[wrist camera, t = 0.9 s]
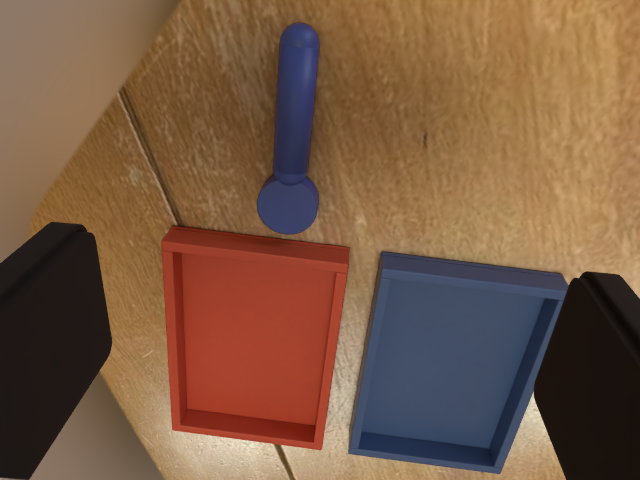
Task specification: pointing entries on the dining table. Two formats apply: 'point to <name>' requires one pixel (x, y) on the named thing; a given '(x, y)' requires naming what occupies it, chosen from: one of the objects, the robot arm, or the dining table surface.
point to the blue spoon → (292, 136)
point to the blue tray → (451, 360)
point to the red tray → (251, 334)
